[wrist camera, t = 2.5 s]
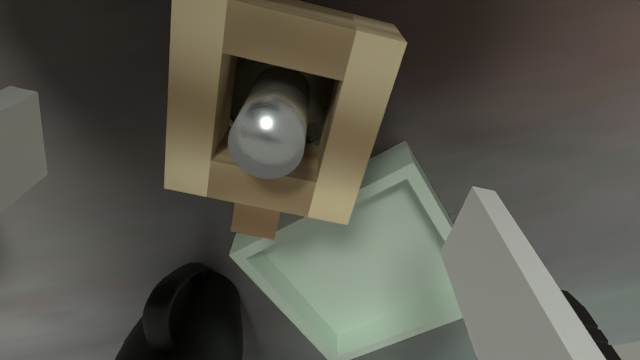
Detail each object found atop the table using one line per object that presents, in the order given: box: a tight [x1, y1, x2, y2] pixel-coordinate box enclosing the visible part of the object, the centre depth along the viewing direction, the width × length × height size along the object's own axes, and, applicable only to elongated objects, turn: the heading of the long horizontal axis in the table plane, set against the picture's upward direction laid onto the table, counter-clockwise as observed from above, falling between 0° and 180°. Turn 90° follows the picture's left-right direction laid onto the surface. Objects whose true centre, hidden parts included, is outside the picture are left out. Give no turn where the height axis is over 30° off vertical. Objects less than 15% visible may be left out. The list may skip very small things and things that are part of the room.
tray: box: [229, 140, 463, 360], centre depth 30 cm, size 14×14×3 cm
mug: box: [115, 262, 243, 360], centre depth 29 cm, size 8×12×10 cm
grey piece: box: [228, 57, 336, 179], centre depth 19 cm, size 6×6×12 cm
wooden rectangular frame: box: [164, 0, 407, 240], centre depth 18 cm, size 10×8×4 cm
